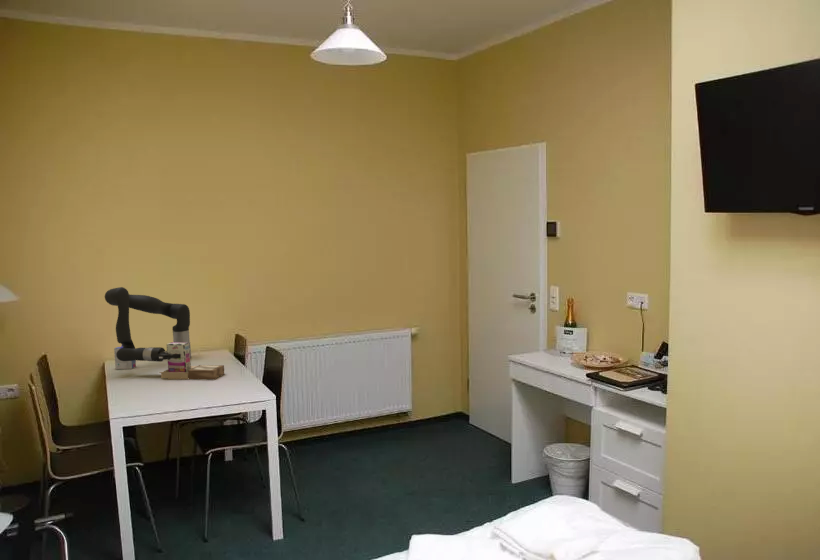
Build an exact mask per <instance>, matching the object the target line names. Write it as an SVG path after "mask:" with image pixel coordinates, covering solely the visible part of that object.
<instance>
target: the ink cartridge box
mask: <svg viewBox="0 0 820 560" xmlns="http://www.w3.org/2000/svg"><path fill="white" fill-rule="evenodd" d="M121 348H123V346H122V345H121V346H117V347H114V349H113V351H114V354H113V355H114V364H115V365H114V367H115V370H132V368H133V369H134V367H135V368H136V367H137V360H135V361H121V360H119V359H118V358H117V356H116V353H117V351H118V350H119V349H121Z"/></svg>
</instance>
